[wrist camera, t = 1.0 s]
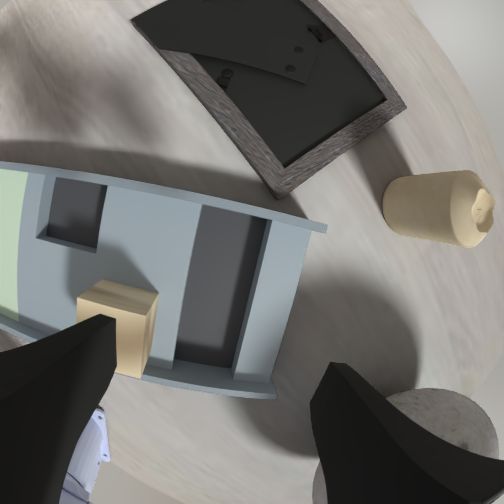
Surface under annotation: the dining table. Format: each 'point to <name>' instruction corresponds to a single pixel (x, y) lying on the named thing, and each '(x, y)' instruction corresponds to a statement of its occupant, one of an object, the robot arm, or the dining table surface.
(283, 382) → the dining table surface
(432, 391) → the moon model
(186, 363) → the tray
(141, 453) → the dining table surface
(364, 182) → the dining table surface
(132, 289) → the maple block
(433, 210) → the candle
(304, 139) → the picture frame
